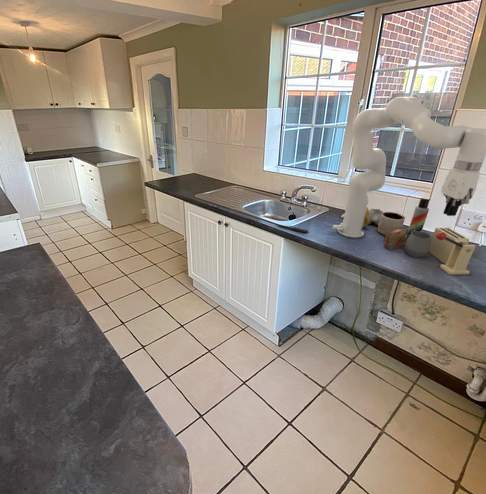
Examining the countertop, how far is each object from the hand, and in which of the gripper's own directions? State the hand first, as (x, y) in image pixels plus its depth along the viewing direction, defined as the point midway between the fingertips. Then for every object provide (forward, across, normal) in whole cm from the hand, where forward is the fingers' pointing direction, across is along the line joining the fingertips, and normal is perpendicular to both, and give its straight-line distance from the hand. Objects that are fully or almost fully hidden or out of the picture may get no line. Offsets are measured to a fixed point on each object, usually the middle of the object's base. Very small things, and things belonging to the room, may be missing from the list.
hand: (449, 214), depth 116 cm
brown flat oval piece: (+25, -22, -2) cm, 34 cm away
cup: (+25, -14, +3) cm, 29 cm away
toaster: (+25, -11, +14) cm, 31 cm away
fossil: (+27, -60, +3) cm, 66 cm away
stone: (+19, -51, -7) cm, 54 cm away
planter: (+25, -38, +4) cm, 46 cm away
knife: (+25, -45, -45) cm, 68 cm away
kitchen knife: (+25, -64, -6) cm, 69 cm away
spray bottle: (+25, -34, +15) cm, 45 cm away
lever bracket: (+25, 0, +11) cm, 27 cm away
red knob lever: (+13, 0, +5) cm, 14 cm away
